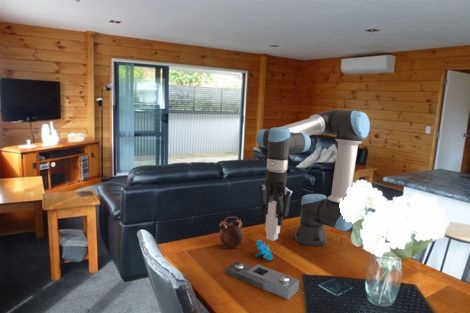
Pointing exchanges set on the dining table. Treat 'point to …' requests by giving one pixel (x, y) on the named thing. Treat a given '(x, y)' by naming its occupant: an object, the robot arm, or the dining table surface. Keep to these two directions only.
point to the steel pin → (271, 221)
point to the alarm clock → (231, 233)
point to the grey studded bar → (265, 279)
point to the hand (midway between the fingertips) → (272, 231)
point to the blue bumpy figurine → (264, 250)
